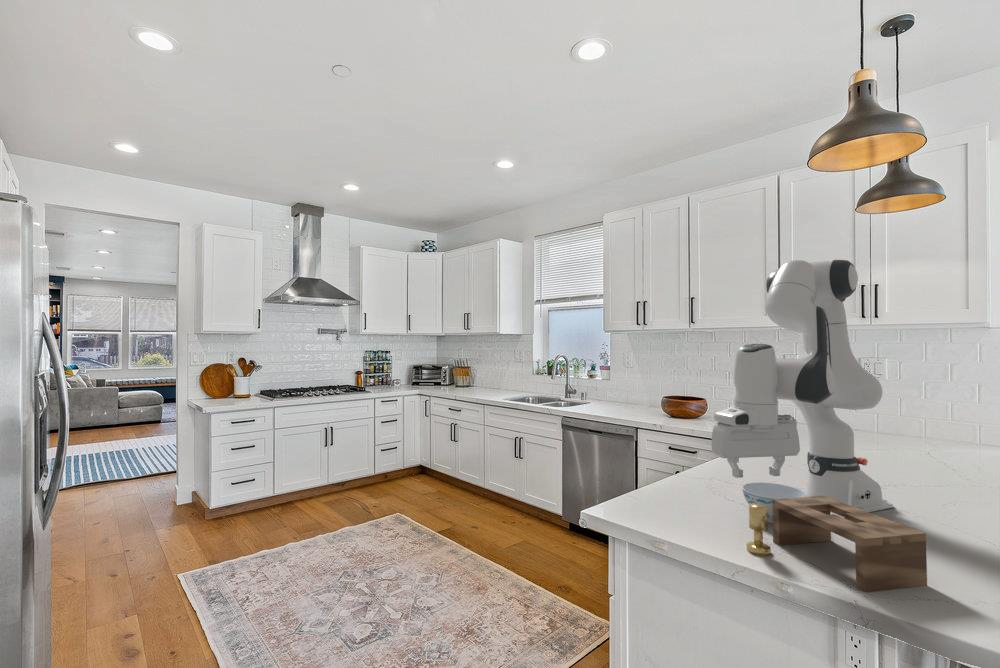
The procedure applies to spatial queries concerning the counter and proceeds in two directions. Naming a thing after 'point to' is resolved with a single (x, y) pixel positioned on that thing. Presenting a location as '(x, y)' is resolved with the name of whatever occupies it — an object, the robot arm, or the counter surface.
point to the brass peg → (758, 529)
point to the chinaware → (769, 494)
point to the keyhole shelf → (856, 540)
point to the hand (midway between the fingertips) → (756, 476)
